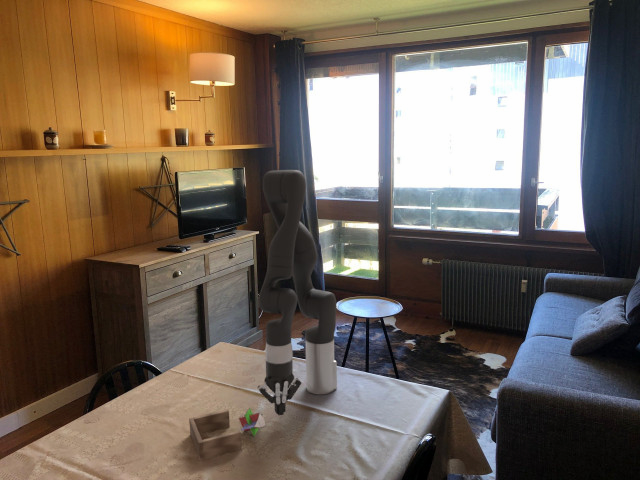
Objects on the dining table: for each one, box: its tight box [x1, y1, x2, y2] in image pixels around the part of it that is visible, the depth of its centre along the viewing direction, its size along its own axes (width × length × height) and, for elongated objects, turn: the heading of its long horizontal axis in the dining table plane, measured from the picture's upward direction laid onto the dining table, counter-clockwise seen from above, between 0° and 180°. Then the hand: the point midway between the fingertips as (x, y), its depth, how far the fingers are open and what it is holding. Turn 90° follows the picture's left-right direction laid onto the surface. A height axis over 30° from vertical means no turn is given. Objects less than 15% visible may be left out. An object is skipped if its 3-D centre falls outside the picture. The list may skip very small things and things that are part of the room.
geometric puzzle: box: [238, 407, 266, 437], centre depth 144 cm, size 7×7×8 cm
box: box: [188, 409, 242, 461], centre depth 140 cm, size 11×13×5 cm
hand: (280, 413), depth 148 cm, fingers closed
